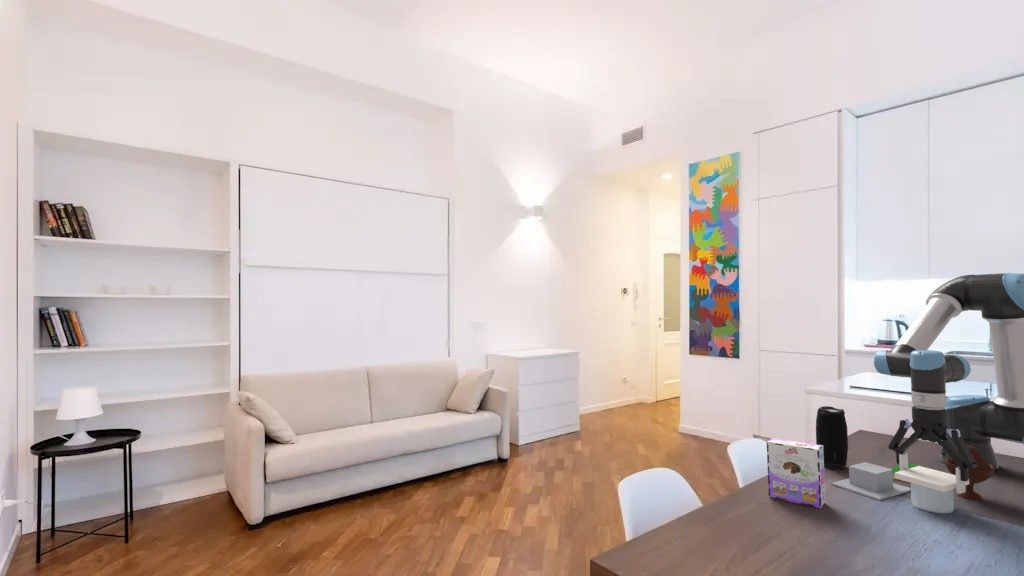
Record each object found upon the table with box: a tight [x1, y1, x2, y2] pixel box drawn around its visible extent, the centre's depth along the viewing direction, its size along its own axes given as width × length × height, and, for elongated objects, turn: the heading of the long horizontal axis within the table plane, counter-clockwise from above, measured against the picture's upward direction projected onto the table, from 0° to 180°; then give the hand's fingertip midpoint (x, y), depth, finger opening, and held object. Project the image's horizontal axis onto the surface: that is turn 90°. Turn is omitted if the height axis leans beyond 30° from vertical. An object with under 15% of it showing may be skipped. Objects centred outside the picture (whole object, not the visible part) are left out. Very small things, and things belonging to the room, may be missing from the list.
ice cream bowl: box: [944, 445, 996, 501], centre depth 150 cm, size 11×11×15 cm
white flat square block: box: [894, 465, 969, 492], centre depth 144 cm, size 12×12×2 cm
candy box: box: [766, 437, 826, 509], centre depth 150 cm, size 14×6×16 cm, turn 47°
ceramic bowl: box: [910, 483, 955, 514], centre depth 144 cm, size 9×9×7 cm
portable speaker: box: [815, 405, 849, 470], centre depth 179 cm, size 9×9×20 cm
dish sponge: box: [891, 463, 931, 484], centre depth 168 cm, size 7×14×2 cm, turn 124°
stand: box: [831, 461, 911, 502], centre depth 158 cm, size 16×14×6 cm
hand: (931, 484), depth 144 cm, fingers open, 13 cm apart
